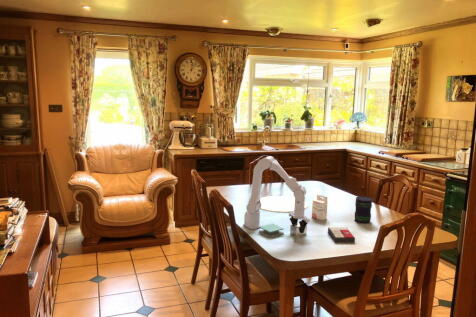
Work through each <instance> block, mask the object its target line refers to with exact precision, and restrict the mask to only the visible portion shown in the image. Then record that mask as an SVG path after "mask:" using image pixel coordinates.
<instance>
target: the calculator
mask: <svg viewBox="0 0 476 317" xmlns="http://www.w3.org/2000/svg"><path fill="white" fill-rule="evenodd" d="M327 234H328V235H329V237H330V238H331V240H332V241H333V242H334V243H337V244H338V243H340V244H344V243H349V244H353V243H355V241H356V237H355V236H354V234H352V233H351V231H350V230H349V229H348V227H346V226H344V227H343V226H331V227H330V226H329V227H328V228H327Z"/></svg>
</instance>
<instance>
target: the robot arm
mask: <svg viewBox="0 0 476 317" xmlns="http://www.w3.org/2000/svg"><path fill="white" fill-rule="evenodd" d="M267 169H269V170H270V171H274V172H276V173H277V174H278V175H279V176H280V177H281V178H282V179H283V180H284V182H285V184H284V185H286V186H287V188H288V189H289V190H290V191H291V192H292V193H293V198H295V204H294V212H288V217H290V218H289V222H291V225H294V224H298V223H299V224H300V233H304V230H305V227H306V225H307V226H308V224H309V223H310V221H311V220H310V219H311V218H309V217H307V216H306V215H305V210H304V208H305V202H306V201H305V198H306V195H307V194H306V193H307V190H306V188H305V187H304V186H302V184H299V182H298V181H297V178H296V177H293V176H290V175H289V174H288V173H287V172H286V170H284V168H283V167H282V166H281V164H280V163H279V162H278V160H277V159H275V157H274V156H271V155H268V156H266V157H263V158H261V159H259V160H258V161H257V163H256V164H255V166H254V167H253V173H252V174H253V175H252V182H251V191H250V192H251V193H250V198H249V199H248V203H247V204H246V210H245V211H246V212H244V221H243V222H244V223H243V226H244V227H246V228H248V229H250V230H256V229H260V228H259V226H262V225H261V224H260V222H261V209H260V208H261V202H260V200H261V199H260V198H261V188H262V180H263V179H262V178H263V172H264V171H265V170H267Z"/></svg>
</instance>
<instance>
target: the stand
mask: <svg viewBox="0 0 476 317" xmlns="http://www.w3.org/2000/svg"><path fill="white" fill-rule="evenodd" d="M258 229H261V230H259V231H258V233H259V234H261V235H263V236H265V237H268V238H275V237H278V236H283V235H284V234H285V233H284V232H283V231H284V229H285V228H284V227H282V226H279V225H278V224H275V223H269V224H265V225H261V226H259V228H258ZM282 230H283V231H282Z"/></svg>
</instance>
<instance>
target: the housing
mask: <svg viewBox="0 0 476 317" xmlns="http://www.w3.org/2000/svg"><path fill="white" fill-rule="evenodd" d="M307 229H308V224H307V225H306V227H305V230H304V233H300V224H299V222H297V224H294V225H292V224H291V225H290V230H289V234H290V236H293V237H299V236H302V235H306V234H307Z"/></svg>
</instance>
